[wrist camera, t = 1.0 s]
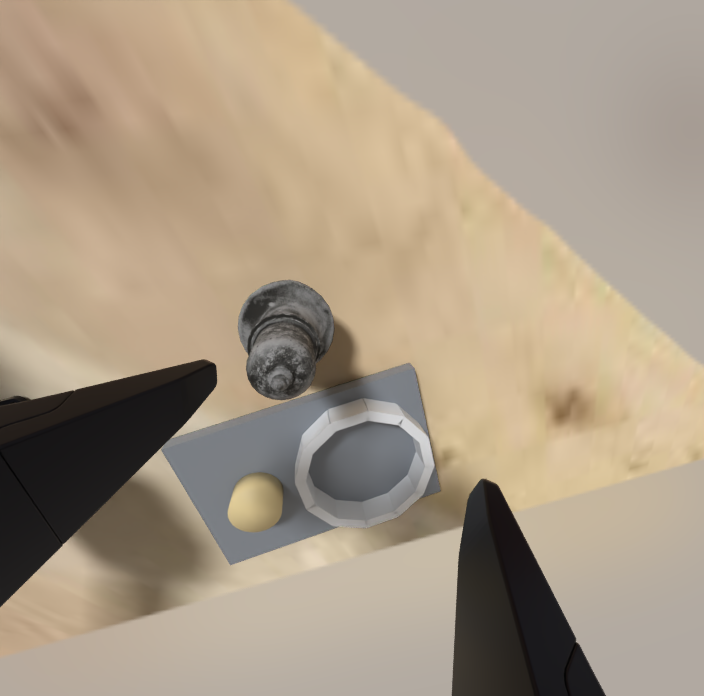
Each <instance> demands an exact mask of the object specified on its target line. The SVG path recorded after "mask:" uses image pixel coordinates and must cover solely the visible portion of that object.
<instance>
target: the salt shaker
mask: <svg viewBox="0 0 704 696" xmlns="http://www.w3.org/2000/svg"><path fill="white" fill-rule="evenodd" d="M238 331H239V336H240V341H241V343H242V345H243V347H244V349H245V350H246V352H247V353H248V355H249V357H248V359H247V365H246V371H247V376H248V380H249V382H250V383H251V385H252V387H253V388H254V389H255V390H256V391H257V392H258V393H260V394H261V395H263V396H265V397H267V398H271V399H275V400H286V399H292V398H294V397H297V396H299V395H300V394H302V393H303V392H305V391H306V390H307V388H308V387H309V386H310V385H311V383H312V381H313V379H314V376H315V372H316V363H317V362H318V361H320V360H321V359H322V357H323V356H324V355H325V354H326V353H327V351H328V349H329V347H330V345H331V343H332V341H333V335H334V320H333V316H332V313H331V310H330V308H329V306H328V304H327V303H326V302H325V300H324V299H323V298H322V296H321V295H319V294H318V293H317V292H316V291H315V290H313V289H312V288H310V287H309V286H307V285H305V284H303V283H301V282H298V281H292V280H283V281H277V282H272V283H270V284H267V285H264V286H262V287H260V288H259V289H258V290H256V291H255V292H254V293H252V294H251V295H250V296H249V298H248V299H247V300H246V302H245V303H244V304H243V307H242V309H241V312H240V314H239V321H238Z"/></svg>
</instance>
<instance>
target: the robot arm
mask: <svg viewBox="0 0 704 696" xmlns="http://www.w3.org/2000/svg"><path fill="white" fill-rule="evenodd" d="M216 385H217V370H216V365H215V364H214V363H212V362H210V361H208V360H198V361H194V362H190V363H186V364H182V365H177V366H173V367H169V368H165V369H161V370H156V371H152V372H148V373H144V374H140V375H135V376H131V377H127V378H123V379H119V380H114V381H110V382H106V383H102V384H98V385H93V386H89V387H85V388H81V389H77V390H75V391H73V390H72V391H68V392H64V393H60V394H55V395H51V396H47V397H42V398H38V399H33V400H28V401H27V400H26V399H25V398H23V397H21V396H14V397H10V398H7V399H4V400H0V607H1V606H2V605H3V604H4V603H5V602H6V601H7V600H8V599H9V598H10V597H11V596H12V595H13V594H14V593H15V592H16V591H17V590H18V589H19V588H20V587H21V586H22V585H23V584H24V583H25V582H26V581H27V580H28V579H29V578H30V577H31V576H32V575H33V574H34V573H35V572H36V571H37V570H38V569H39V568H40V567H41V566H42V565H43V564H44V563H45V562H46V561H47V560H48V559H49V558H50V557H51V556H52V555H53V554H54V553H55V552H57V551H58V550H59V549H60V548H61V547H62V545H63V544H64V543H65V542H66V541H67V540H68V539H69V538H70V537H71V536H72V535H73V534H74V533H75V532H76V531H77V530H78V529H79V528H80V527H81V526H82V525H83V524H85V523H86V522H87V521H88V520H89V519H90V518H91V517H92V516H93V515H94V514H95V513H96V512H97V511H98V510H99V509H100V508H101V507H102V506H103V505H104V504H105V503H106V502H107V501H108V500H109V499H110V498H111V497H112V496H113V495H114V494H115V493H116V492H117V491H118V490H119V489H120V488H121V487H122V486H123V485H124V484H125V483H126V482H127V481H128V480H129V479H130V478H131V477H132V476H133V475H134V474H135V473H136V472H137V471H138V470H139V469H140V468H141V467H142V466H143V465H144V464H145V463H146V462H147V461H148V460H149V459H150V458H151V457H152V456H153V455H154V454H155V453H156V452H157V451H158V450H159V449H160V448H161V447H162V446H163V445H164V444H165V443H166V442H167V441H168V440H169V439H170V438H171V437H172V436H173V435H174V434H175V433H176V432H177V431H178V430H179V429H180V428H181V427H182V426H183V425H184V424H185V423H186V422H187V421H188V420H189V419H190V418H191V416H192V415H193V414H194V413H195V412H196V410H197V409H198V408H199V407H200V405H201V404H202V403H203V402H204V401H205V399H206V398H207V397H208V396H209V395H210V393H211V392H212V391H213V390H214V388H215V387H216ZM453 662H454V663H453V681H452V696H606V695H605V693H604V691H603V689H602V688H601V685H600V684H599V682H598V680H597V678H596V676H595V674H594V672H593V670H592V669H591V667H590V665H589V663H588V661H587V659H586V657H585V655H584V653H583V651H582V649H581V647H580V645H579V644H578V643H577V642H576V637H575V635H574V633H573V631H572V630H571V627H570V626H569V624H568V622H567V620H566V618H565V616H564V614H563V612H562V610H561V608H560V606H559V604H558V602H557V600H556V598H555V596H554V594H553V592H552V590H551V588H550V586H549V584H548V582H547V580H546V578H545V576H544V574H543V573H542V570H541V568H540V567H539V565H538V563H537V561H536V559H535V557H534V555H533V553H532V551H531V549H530V547H529V545H528V543H527V541H526V539H525V537H524V535H523V533H522V531H521V529H520V527H519V525H518V523H517V521H516V519H515V518H514V515H513V513H512V511H511V509H510V508H509V506H508V504H507V502H506V500H505V498H504V496H503V494H502V492H501V490H500V488H499V486H498V485H497V484H496V483H494V482H491V481H489V480H487V479H481V480H480V481H479V482H478V484H477V485H476V487H475V488H474V489H473V491H472V492H471V494H470V495H469V498H468V502H467V508H466V514H465V520H464V526H463V532H462V538H461V544H460V552H459V561H458V579H457V600H456V620H455V641H454V661H453Z"/></svg>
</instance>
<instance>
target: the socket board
mask: <svg viewBox="0 0 704 696" xmlns="http://www.w3.org/2000/svg"><path fill="white" fill-rule="evenodd" d="M161 450H162V452H163V454H164V455H165V457H166V459H167V460H168V462H169V464H170V465H171V467H172V469H173V470H174V472H175V474H176V475H177V477H178V479H179V480H180V482H181V484H182V485H183V487H184V489H185V490H186V492H187V494H188V495H189V497H190V499H191V500H192V502H193V504H194V505H195V507H196V509H197V510H198V512H199V514H200V515H201V517H202V519H203V520H204V522H205V524H206V525H207V527H208V529H209V530H210V532H211V534H212V535H213V537H214V539H215V540H216V542H217V544H218V545H219V547H220V549H221V550H222V552H223V554H224V555H225V557H226V559H227V560H228V562H229V564H230V565H232V564H235V563H238V562H241V561H244V560H246V559H249V558H252V557H255V556H258V555H261V554H263V553H266V552H269V551H272V550H275V549H278V548H281V547H283V546H286V545H289V544H292V543H295V542H298V541H300V540H303V539H306V538H309V537H312V536H315V535H317V534H320V533H323V532H326V531H329V530H332V529H334V528H337V527H353V528H366V527H367V528H369V527H371V526H374V525H377V524H380V523H383V522H386V521H388V520H391V519H394V518H397V517H398V516H400V515H401V514H402V513H404V512H405V511H406V510H407V509H408V508H409V507H410V506H411V505H412V504H413V503H415V502H416V501H417V500H418V499H420V498H422V497H425V496H428V495H431V494H434V493H437V492H440V491H441V490H440V486H439V481H438V476H437V472H436V467H435V462H434V458H433V453H432V448H431V443H430V439H429V434H428V429H427V425H426V420H425V415H424V411H423V406H422V401H421V397H420V392H419V387H418V382H417V378H416V373H415V368H414V367H413V366H412V365H411V364H410V363H407V364H404V365H401V366H398V367H395V368H391V369H388V370H385V371H382V372H379V373H376V374H373V375H370V376H366V377H363V378H360V379H357V380H354V381H351V382H348V383H344V384H341V385H338V386H335V387H332V388H329V389H326V390H323V391H319V392H316V393H313V394H310V395H307V396H304V397H301V398H298V399H294V400H291V401H288V402H285V403H282V404H279V405H276V406H273V407H269V408H266V409H263V410H260V411H257V412H254V413H251V414H248V415H244V416H241V417H238V418H235V419H232V420H229V421H226V422H223V423H219V424H216V425H213V426H210V427H207V428H204V429H201V430H198V431H194V432H191V433H188V434H185V435H182V436H179V437H176V438H173V439H169V440H168V441H167V442H166V443H165V445H164V446H163V448H162V449H161Z"/></svg>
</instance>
